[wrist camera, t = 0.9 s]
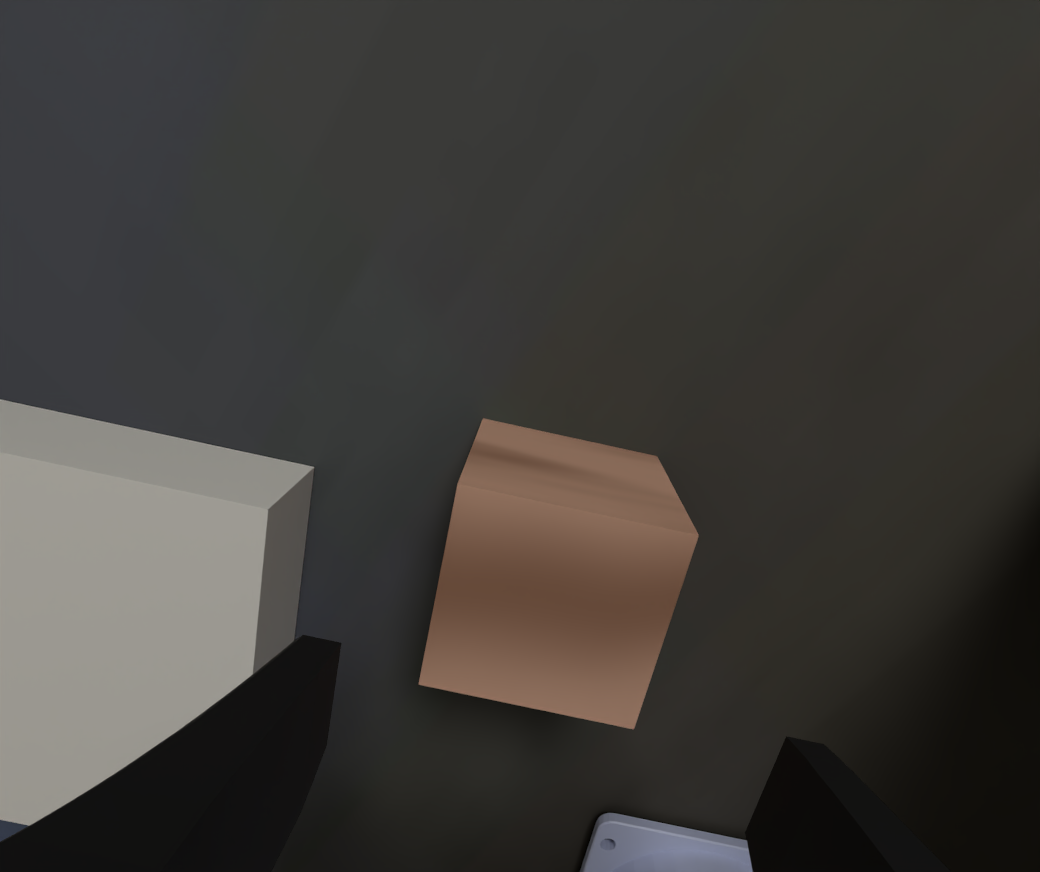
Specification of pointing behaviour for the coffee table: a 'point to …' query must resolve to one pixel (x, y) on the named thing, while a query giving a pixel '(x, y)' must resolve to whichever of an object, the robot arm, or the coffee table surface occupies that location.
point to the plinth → (130, 592)
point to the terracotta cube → (557, 575)
